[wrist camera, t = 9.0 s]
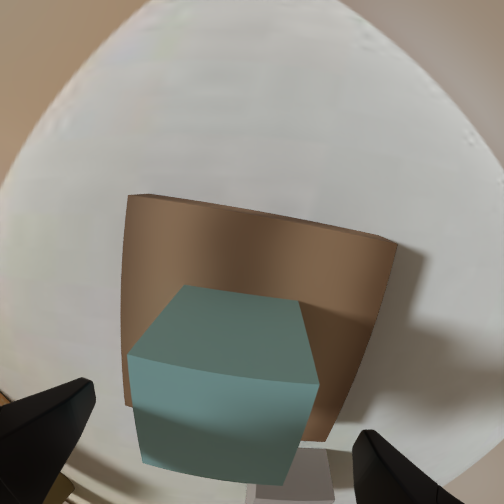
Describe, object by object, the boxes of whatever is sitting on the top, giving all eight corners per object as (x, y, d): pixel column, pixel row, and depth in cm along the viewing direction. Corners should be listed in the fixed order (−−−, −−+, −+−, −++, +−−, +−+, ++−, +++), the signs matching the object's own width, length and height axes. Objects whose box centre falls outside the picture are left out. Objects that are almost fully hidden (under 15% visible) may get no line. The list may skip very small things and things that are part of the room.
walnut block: (375, 233, 15) (397, 244, 12) (319, 410, 17) (325, 441, 14) (152, 193, 15) (127, 195, 12) (141, 378, 18) (125, 405, 15)
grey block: (325, 448, 18) (335, 500, 13) (307, 482, 19) (311, 528, 14) (258, 443, 18) (255, 498, 13) (247, 477, 19) (243, 525, 14)
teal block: (298, 300, 13) (319, 384, 7) (279, 390, 14) (282, 485, 8) (184, 284, 13) (127, 354, 7) (180, 375, 14) (142, 462, 8)
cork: (51, 483, 23) (20, 531, 12) (28, 455, 22) (-10, 505, 11) (82, 495, 22) (52, 551, 12) (59, 467, 21) (21, 527, 10)
